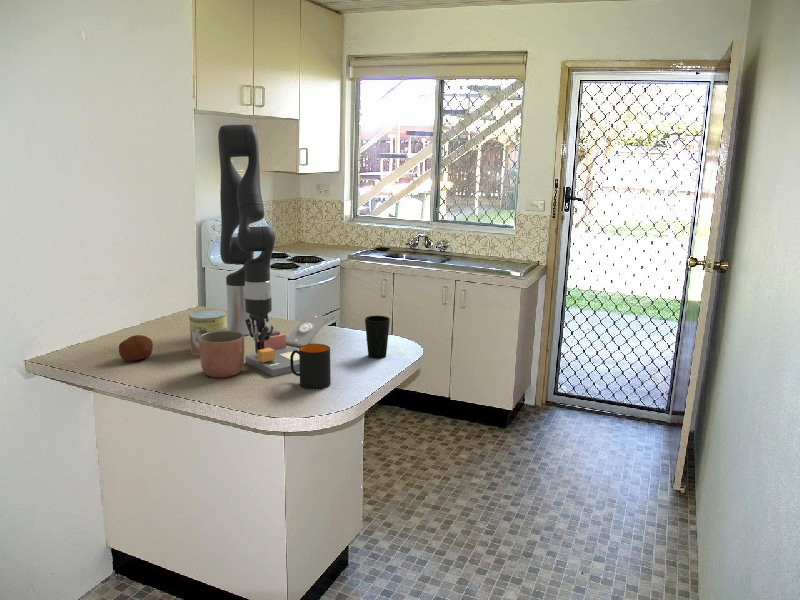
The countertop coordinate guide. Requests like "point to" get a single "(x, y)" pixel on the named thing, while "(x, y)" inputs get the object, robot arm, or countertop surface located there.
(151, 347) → the potato
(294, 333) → the light switch
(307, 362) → the mug
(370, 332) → the cup
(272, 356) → the orange rectangular prism
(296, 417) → the countertop surface
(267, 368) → the panel
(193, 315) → the canned food
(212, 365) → the pink terracotta mug
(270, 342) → the pink square block
